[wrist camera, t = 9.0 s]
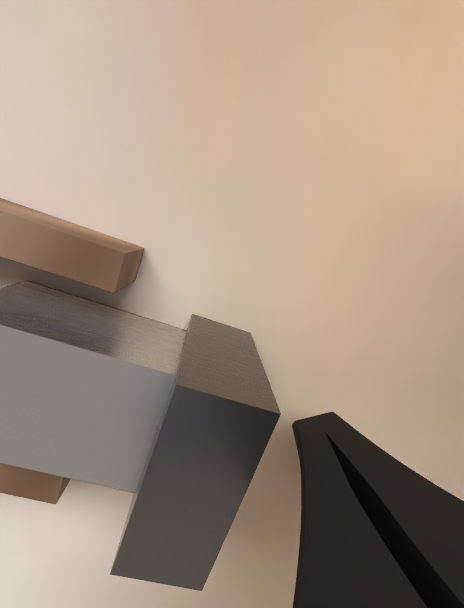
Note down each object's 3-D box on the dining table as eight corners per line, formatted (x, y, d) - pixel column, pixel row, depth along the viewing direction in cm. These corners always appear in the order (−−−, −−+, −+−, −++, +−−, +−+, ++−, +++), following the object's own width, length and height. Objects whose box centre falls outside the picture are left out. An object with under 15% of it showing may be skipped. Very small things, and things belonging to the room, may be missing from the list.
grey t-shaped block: (250, 332, 10) (280, 414, 5) (205, 446, 11) (201, 590, 6) (31, 261, 9) (-145, 293, 4) (3, 394, 10) (-163, 524, 5)
